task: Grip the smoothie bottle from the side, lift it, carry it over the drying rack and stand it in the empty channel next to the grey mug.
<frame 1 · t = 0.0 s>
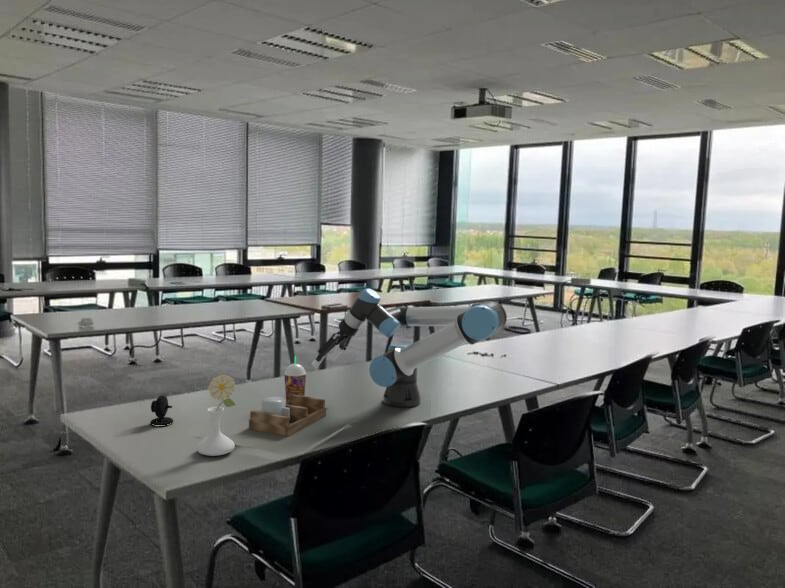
hand: (323, 362, 249), 15 cm above the table, tool tilted 35°, fingers open, 13 cm apart
flower in vase: (218, 453, 193), on the table
webcam: (161, 424, 218), on the table
mug: (273, 425, 214), point 1 cm above the table, touching rack
smoothie: (295, 408, 240), on the table
rack: (288, 426, 218), on the table
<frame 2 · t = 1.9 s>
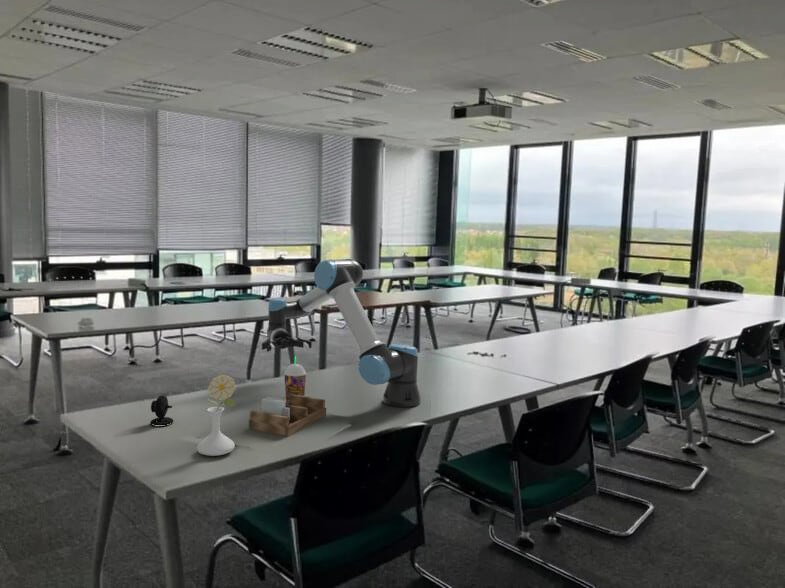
hand: (290, 349, 246), 21 cm above the table, tool horizontal, fingers open, 13 cm apart
nothing on the table moved.
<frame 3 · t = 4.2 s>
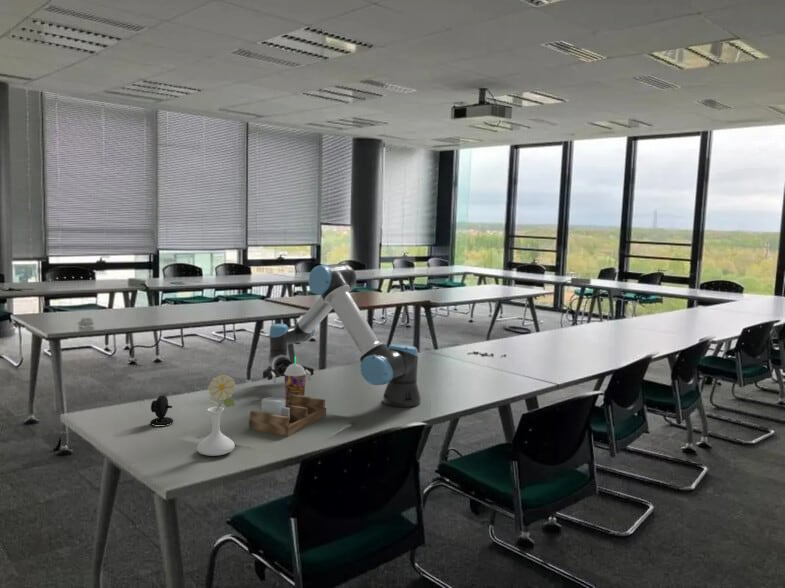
hand: (292, 378, 241), 11 cm above the table, tool horizontal, fingers open, 13 cm apart
nothing on the table moved.
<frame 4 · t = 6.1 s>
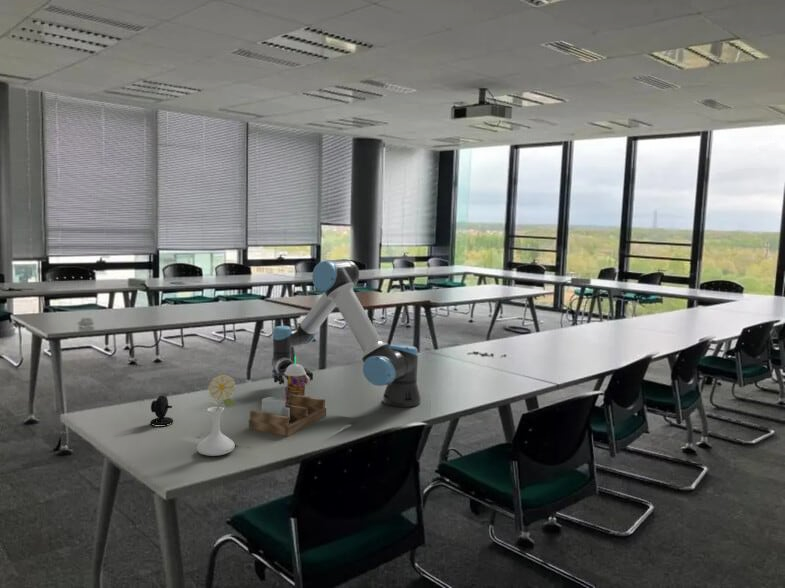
hand: (297, 382, 234), 11 cm above the table, tool horizontal, fingers closed on smoothie, 8 cm apart
smoothie: (295, 408, 240), on the table, touching gripper
everything else where it was.
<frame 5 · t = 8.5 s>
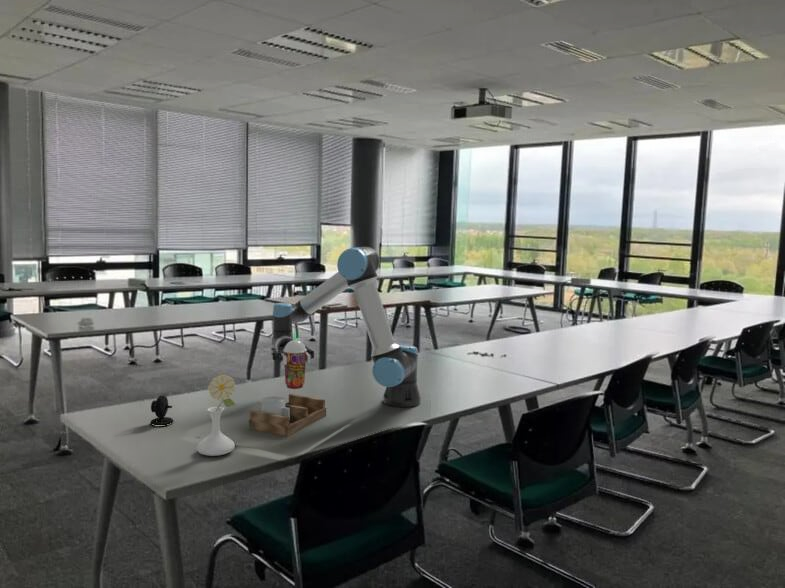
hand: (297, 360, 219), 23 cm above the table, tool horizontal, fingers closed on smoothie, 8 cm apart
smoothie: (294, 387, 225), point 12 cm above the table, touching gripper
everything else where it was.
when the fingers open (14 cm above the table, at t = 10.9 s): smoothie drops 1 cm, resting on rack.
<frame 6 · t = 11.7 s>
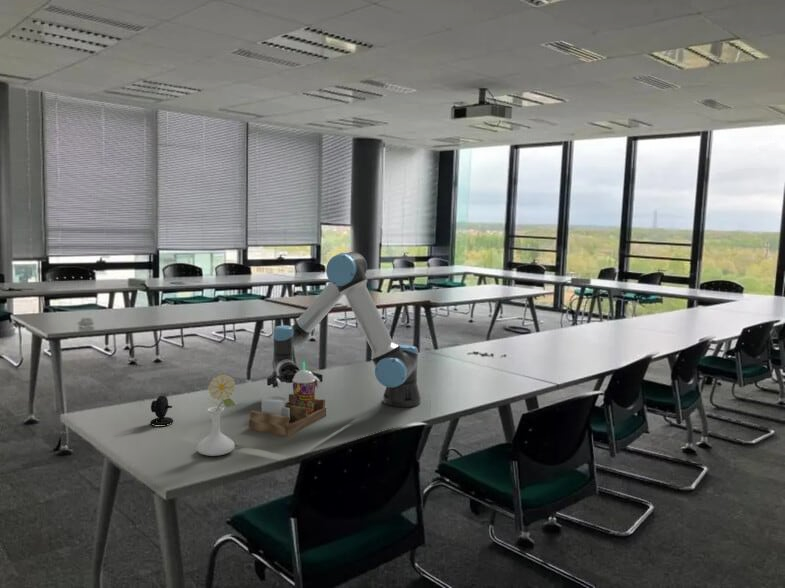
hand: (299, 385, 219), 14 cm above the table, tool horizontal, fingers open, 13 cm apart
smoothie: (304, 417, 224), point 1 cm above the table, touching gripper, rack
everything else where it was.
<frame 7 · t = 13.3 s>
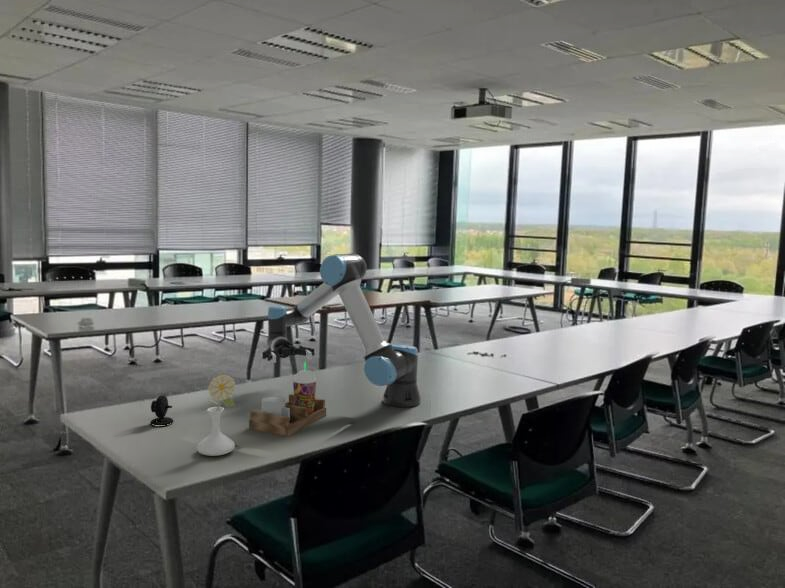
hand: (293, 357, 234), 20 cm above the table, tool horizontal, fingers open, 13 cm apart
smoothie: (304, 417, 224), point 1 cm above the table, touching rack
everything else where it was.
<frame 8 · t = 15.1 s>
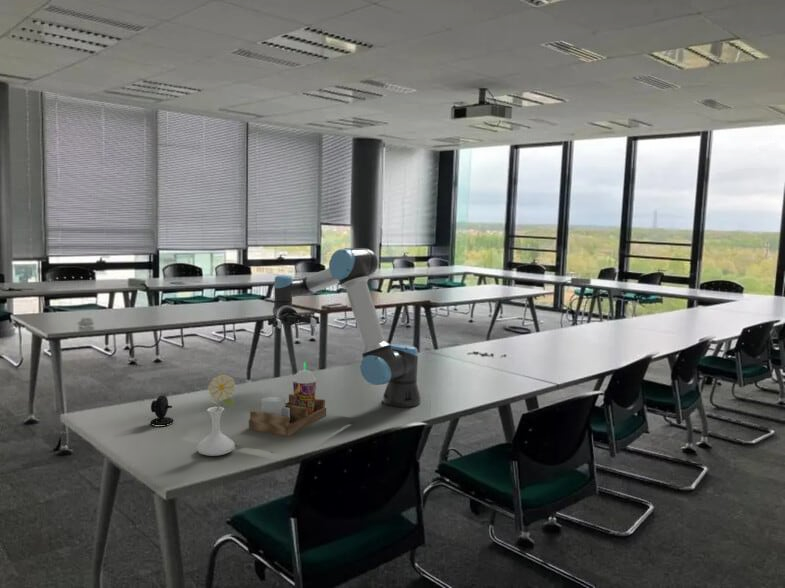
hand: (297, 324, 239), 32 cm above the table, tool horizontal, fingers open, 13 cm apart
nothing on the table moved.
at the end: smoothie inside the target area on the rack (2.5 cm from its centre), point 1.3 cm above the rack's base; smoothie tilted 0°; the gripper is holding nothing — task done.
